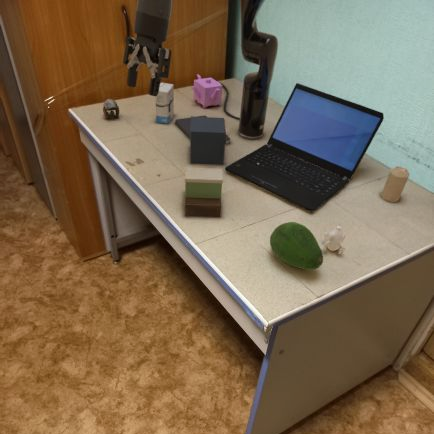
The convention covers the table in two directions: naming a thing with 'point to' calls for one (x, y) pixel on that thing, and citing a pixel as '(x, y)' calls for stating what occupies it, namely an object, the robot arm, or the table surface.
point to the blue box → (207, 140)
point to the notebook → (186, 126)
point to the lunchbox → (203, 183)
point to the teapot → (207, 91)
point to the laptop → (311, 148)
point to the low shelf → (203, 207)
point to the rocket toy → (334, 239)
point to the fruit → (296, 246)
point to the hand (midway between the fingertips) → (141, 91)
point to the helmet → (110, 107)
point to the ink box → (165, 103)
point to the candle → (395, 184)
